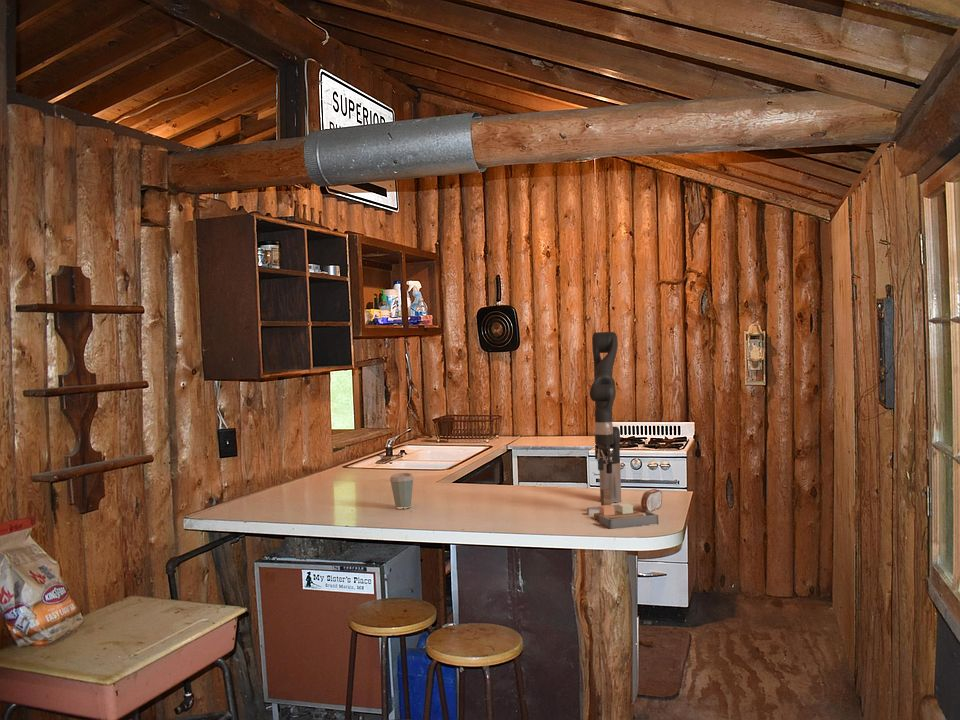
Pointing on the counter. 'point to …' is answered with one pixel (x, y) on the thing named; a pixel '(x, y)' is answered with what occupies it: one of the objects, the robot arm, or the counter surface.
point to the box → (629, 521)
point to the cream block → (625, 508)
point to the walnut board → (618, 515)
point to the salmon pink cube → (606, 510)
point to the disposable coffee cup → (402, 489)
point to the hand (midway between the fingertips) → (605, 471)
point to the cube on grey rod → (602, 502)
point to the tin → (651, 500)
